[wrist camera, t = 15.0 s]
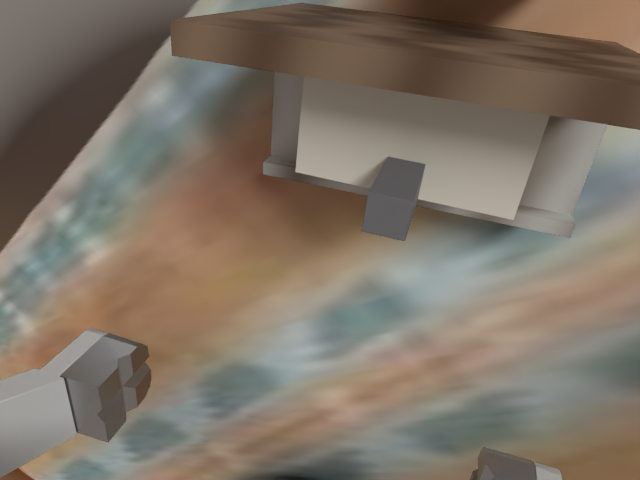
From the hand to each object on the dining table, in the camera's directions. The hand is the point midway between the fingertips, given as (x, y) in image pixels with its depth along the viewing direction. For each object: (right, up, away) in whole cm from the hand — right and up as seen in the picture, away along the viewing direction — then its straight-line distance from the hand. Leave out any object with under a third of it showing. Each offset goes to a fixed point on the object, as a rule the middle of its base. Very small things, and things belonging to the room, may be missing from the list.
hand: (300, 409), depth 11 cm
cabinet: (+8, +13, +21) cm, 26 cm away
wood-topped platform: (+9, +14, +26) cm, 31 cm away
